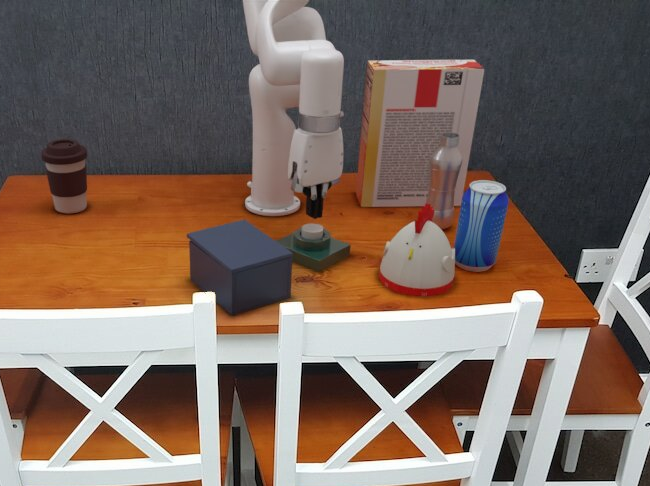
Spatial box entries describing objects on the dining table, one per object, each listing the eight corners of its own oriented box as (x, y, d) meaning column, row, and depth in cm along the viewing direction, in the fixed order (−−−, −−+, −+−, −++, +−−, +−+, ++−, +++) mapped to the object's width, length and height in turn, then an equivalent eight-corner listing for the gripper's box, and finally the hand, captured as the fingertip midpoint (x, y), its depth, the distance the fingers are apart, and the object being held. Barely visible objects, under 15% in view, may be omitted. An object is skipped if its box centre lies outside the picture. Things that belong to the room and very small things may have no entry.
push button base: (272, 253, 160) (273, 233, 157) (304, 238, 166) (305, 218, 163) (318, 272, 153) (319, 251, 150) (349, 255, 159) (351, 235, 156)
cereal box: (452, 192, 186) (474, 59, 169) (460, 205, 179) (484, 68, 162) (355, 193, 186) (367, 60, 169) (360, 206, 179) (374, 69, 162)
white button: (296, 236, 157) (297, 228, 156) (310, 229, 159) (311, 221, 158) (313, 242, 154) (314, 234, 153) (327, 235, 157) (328, 227, 156)
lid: (186, 237, 146) (186, 233, 145) (244, 222, 151) (244, 219, 151) (231, 273, 134) (231, 269, 134) (292, 256, 140) (292, 252, 139)
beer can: (487, 277, 151) (504, 198, 142) (445, 267, 154) (458, 189, 145) (500, 260, 156) (516, 183, 147) (459, 251, 160) (472, 175, 151)
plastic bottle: (452, 234, 167) (468, 141, 155) (420, 231, 168) (433, 139, 157) (451, 222, 172) (466, 131, 161) (420, 219, 173) (433, 129, 162)
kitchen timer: (367, 284, 148) (375, 210, 140) (394, 256, 158) (404, 185, 150) (438, 303, 142) (451, 226, 134) (462, 273, 152) (476, 200, 144)
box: (190, 280, 150) (188, 240, 146) (246, 265, 156) (246, 226, 151) (231, 315, 139) (231, 274, 135) (290, 298, 144) (292, 257, 140)
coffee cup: (40, 213, 177) (30, 147, 169) (64, 197, 185) (55, 133, 176) (78, 219, 174) (70, 153, 166) (100, 203, 182) (94, 139, 173)
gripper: (339, 110, 150) (333, 202, 160) (273, 123, 143) (271, 217, 154) (364, 120, 144) (356, 214, 155) (297, 133, 138) (293, 230, 148)
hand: (313, 215), depth 154 cm, fingers closed
